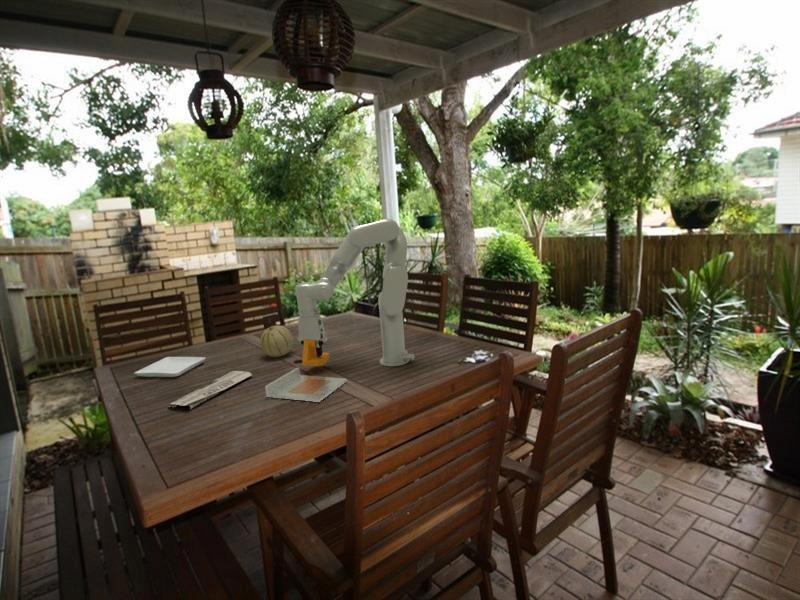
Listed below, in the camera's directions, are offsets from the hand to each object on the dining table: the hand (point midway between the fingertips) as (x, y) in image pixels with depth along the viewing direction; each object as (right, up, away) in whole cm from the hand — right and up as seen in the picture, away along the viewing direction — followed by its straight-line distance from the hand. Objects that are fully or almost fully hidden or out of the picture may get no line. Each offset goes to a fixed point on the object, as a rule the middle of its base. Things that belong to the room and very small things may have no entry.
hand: (314, 355), depth 190 cm
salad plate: (-66, -9, +13) cm, 68 cm away
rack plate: (+1, -10, -21) cm, 23 cm away
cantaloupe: (-21, -3, +24) cm, 32 cm away
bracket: (+1, -3, 0) cm, 4 cm away
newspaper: (-35, -12, -16) cm, 41 cm away
